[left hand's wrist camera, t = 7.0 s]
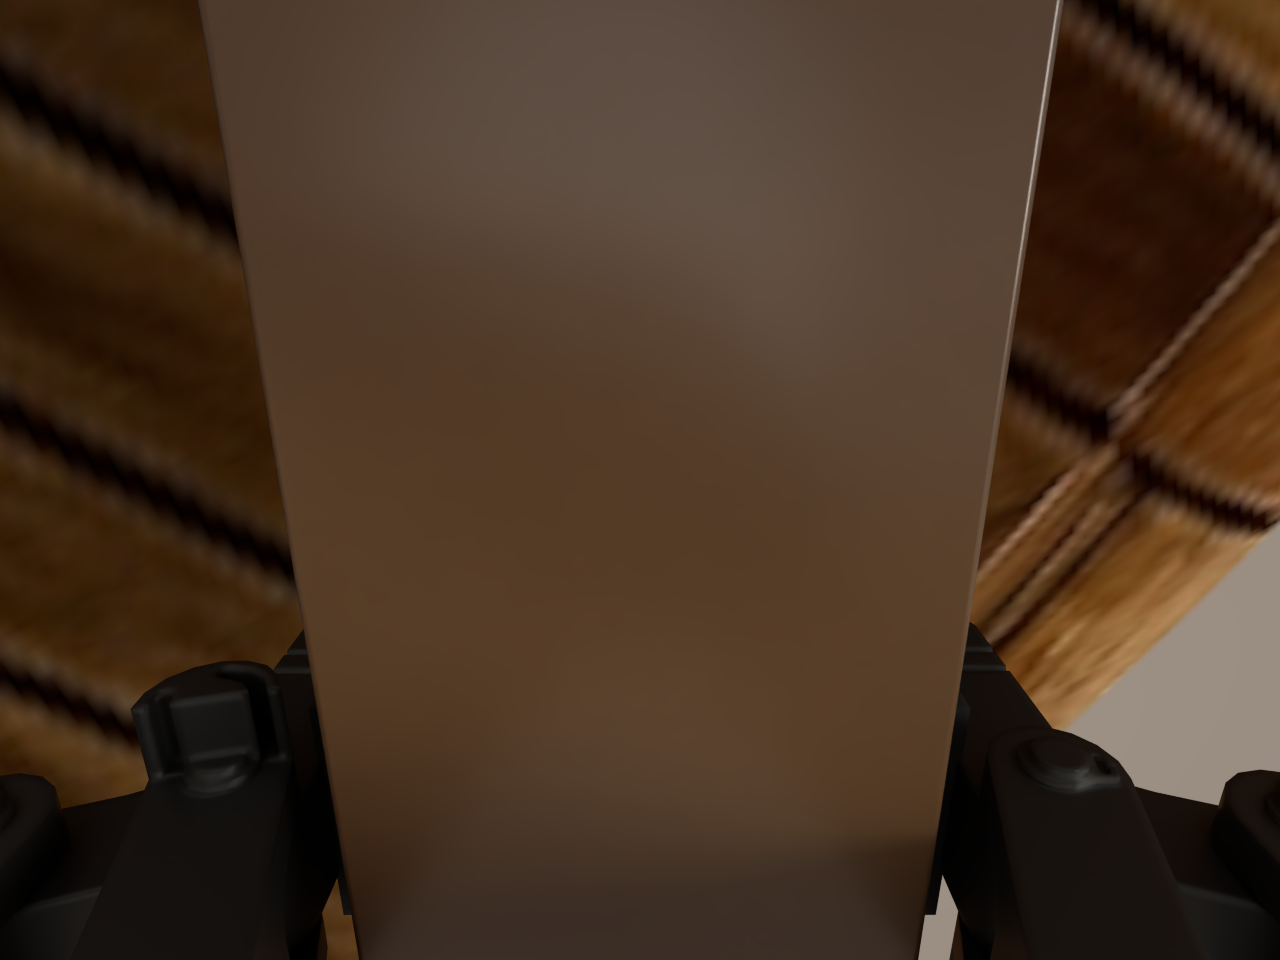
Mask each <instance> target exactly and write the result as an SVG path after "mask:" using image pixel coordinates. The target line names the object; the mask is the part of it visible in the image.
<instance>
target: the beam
mask: <svg viewBox="0 0 1280 960" xmlns="http://www.w3.org/2000/svg"><path fill="white" fill-rule="evenodd" d="M1063 2H1064V0H198V5H199V11H200V17H201V23H202V29H203V35H204V41H205V47H206V53H207V59H208V65H209V70H210V76H211V82H212V88H213V94H214V100H215V106H216V112H217V118H218V124H219V130H220V136H221V142H222V148H223V154H224V160H225V165H226V171H227V177H228V183H229V189H230V195H231V201H232V207H233V213H234V219H235V225H236V231H237V237H238V243H239V249H240V255H241V260H242V266H243V272H244V278H245V284H246V290H247V296H248V302H249V308H250V314H251V320H252V326H253V332H254V338H255V344H256V350H257V355H258V361H259V367H260V373H261V379H262V385H263V391H264V397H265V403H266V409H267V415H268V421H269V427H270V433H271V439H272V445H273V451H274V456H275V462H276V468H277V474H278V480H279V486H280V492H281V498H282V504H283V510H284V516H285V522H286V528H287V534H288V540H289V546H290V551H291V557H292V563H293V569H294V575H295V581H296V587H297V593H298V599H299V605H300V611H301V617H302V623H303V629H304V635H305V641H306V646H307V652H308V658H309V664H310V670H311V676H312V682H313V688H314V694H315V700H316V706H317V712H318V718H319V724H320V730H321V736H322V741H323V747H324V753H325V759H326V765H327V771H328V777H329V783H330V789H331V795H332V801H333V807H334V813H335V819H336V825H337V831H338V837H339V842H340V848H341V854H342V860H343V866H344V872H345V878H346V884H347V890H348V896H349V902H350V908H351V914H352V920H353V926H354V932H355V937H356V943H357V949H358V955H359V960H918V957H919V950H920V944H921V937H922V930H923V924H924V917H925V911H926V904H927V898H928V891H929V884H930V878H931V871H932V865H933V858H934V851H935V845H936V838H937V832H938V825H939V819H940V812H941V805H942V799H943V792H944V786H945V779H946V772H947V766H948V759H949V753H950V746H951V740H952V733H953V726H954V720H955V713H956V707H957V700H958V693H959V687H960V680H961V674H962V667H963V661H964V654H965V647H966V641H967V634H968V628H969V621H970V615H971V608H972V601H973V595H974V588H975V582H976V575H977V568H978V562H979V555H980V549H981V542H982V536H983V529H984V522H985V516H986V509H987V503H988V496H989V489H990V483H991V476H992V470H993V463H994V457H995V450H996V443H997V437H998V430H999V424H1000V417H1001V410H1002V404H1003V397H1004V391H1005V384H1006V378H1007V371H1008V364H1009V358H1010V351H1011V345H1012V338H1013V331H1014V325H1015V318H1016V312H1017V305H1018V299H1019V292H1020V285H1021V279H1022V272H1023V266H1024V259H1025V252H1026V246H1027V239H1028V233H1029V226H1030V220H1031V213H1032V206H1033V200H1034V193H1035V187H1036V180H1037V173H1038V167H1039V160H1040V154H1041V147H1042V141H1043V134H1044V127H1045V121H1046V114H1047V108H1048V101H1049V95H1050V88H1051V81H1052V75H1053V68H1054V62H1055V55H1056V48H1057V42H1058V35H1059V29H1060V22H1061V16H1062V9H1063Z"/></svg>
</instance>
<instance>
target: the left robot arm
mask: <svg viewBox="0 0 1280 960" xmlns="http://www.w3.org/2000/svg"><path fill="white" fill-rule="evenodd" d="M131 712H132V716H133V720H134V724H135V728H136V732H137V735H138V739H139V743H140V747H141V751H142V755H143V758H144V762H145V766H146V770H147V774H148V778H149V781H148V783H147V785H146V788H145V790H143V791H139V792H136V793H132V794H129V795H125V796H120V797H116V798H111V799H106V800H102V801H97V802H92V803H88V804H83V805H78V806H74V807H69V808H64V809H62V808H61V805H60V802H59V799H58V796H57V793H56V789H55V786H53V785H52V784H51V783H50V782H48V781H47V780H46V779H45V778H43V777H42V776H35V775H28V774H21V773H19V774H11V775H3V776H0V960H326V957H327V948H328V947H327V940H326V932H325V926H324V921H323V915H322V912H323V909H324V907H325V905H326V902H327V900H328V898H329V896H330V893H331V891H332V889H333V886H334V884H335V882H336V879H337V878H338V884H339V890H340V896H341V902H342V908H343V913H344V915H352V914H351V908H350V902H349V896H348V890H347V884H346V878H345V872H344V866H343V860H342V854H341V848H340V842H339V837H338V831H337V825H336V819H335V813H334V807H333V801H332V795H331V789H330V783H329V777H328V771H327V765H326V759H325V753H324V747H323V741H322V736H321V730H320V724H319V718H318V712H317V706H316V700H315V694H314V688H313V682H312V676H311V670H310V664H309V658H308V652H307V646H306V641H305V635H304V629H303V631H302V632H301V633H300V635H299V636H298V637H297V639H296V640H295V641H294V643H293V644H292V645H291V647H290V648H289V649H288V653H287V655H284V656H283V657H282V659H281V660H280V662H279V663H278V664H277V666H276V667H275V668H274V671H273V670H272V669H271V668H270V667H268V666H267V665H264V664H259V663H255V662H251V661H222V662H217V663H213V664H208V665H203V666H199V667H194V668H192V669H189V670H187V671H184V672H182V673H179V674H177V675H174V676H172V677H169V678H167V679H165V680H164V681H162V682H161V683H159V684H158V685H156V686H154V687H153V688H151V689H150V690H148V691H147V692H145V693H144V694H143V695H142V696H141V698H140V699H139V700H138V701H137V702H136V703H135V705H134V706H133V707H132V708H131ZM942 875H943V877H944V879H945V881H946V884H947V886H948V888H949V891H950V893H951V895H952V898H953V900H954V902H955V904H956V907H957V909H958V915H957V921H956V926H955V932H954V937H953V943H952V948H951V954H950V959H949V960H1280V772H1275V771H1267V770H1254V771H1247V772H1240V773H1237V774H1236V775H1235V776H1233V777H1232V778H1231V779H1230V780H1229V781H1227V782H1226V783H1225V787H1224V790H1223V793H1222V796H1221V799H1220V803H1219V806H1218V805H1213V804H1209V803H1204V802H1199V801H1195V800H1190V799H1185V798H1181V797H1176V796H1171V795H1166V794H1162V793H1157V792H1153V791H1149V790H1146V789H1142V788H1138V787H1135V786H1134V784H1133V782H1132V779H1131V778H1130V776H1129V775H1128V774H1127V772H1126V771H1125V770H1124V768H1123V767H1122V765H1121V764H1120V763H1119V761H1118V760H1116V759H1115V758H1114V757H1112V756H1111V755H1110V754H1108V753H1107V752H1106V751H1104V750H1103V749H1102V748H1100V747H1099V746H1098V745H1096V744H1093V743H1091V742H1089V741H1087V740H1085V739H1083V738H1081V737H1078V736H1076V735H1074V734H1072V733H1068V732H1064V731H1060V730H1056V729H1052V727H1051V726H1050V725H1049V723H1048V722H1047V721H1046V719H1045V718H1044V717H1043V715H1042V714H1041V713H1040V711H1039V710H1038V709H1037V707H1036V706H1035V705H1034V703H1033V702H1032V701H1031V699H1030V698H1029V697H1028V695H1027V694H1026V692H1025V691H1024V690H1023V688H1022V687H1021V686H1020V684H1019V683H1018V682H1017V680H1016V679H1015V678H1014V676H1013V675H1012V674H1011V672H1010V671H1006V666H1005V664H1004V663H1003V662H1002V660H1001V659H1000V658H999V656H998V655H997V654H996V652H992V647H991V646H990V644H989V643H988V642H987V640H986V639H985V638H984V636H983V635H982V634H981V632H980V631H979V630H978V628H977V627H976V626H975V625H974V624H972V623H971V622H969V628H968V634H967V641H966V647H965V654H964V661H963V667H962V674H961V680H960V687H959V693H958V700H957V707H956V713H955V720H954V726H953V733H952V740H951V746H950V753H949V759H948V766H947V772H946V779H945V786H944V792H943V799H942V805H941V812H940V819H939V825H938V832H937V838H936V845H935V851H934V858H933V865H932V871H931V878H930V884H929V891H928V898H927V904H926V911H925V915H936V910H937V903H938V898H939V892H940V886H941V880H942Z"/></svg>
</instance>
